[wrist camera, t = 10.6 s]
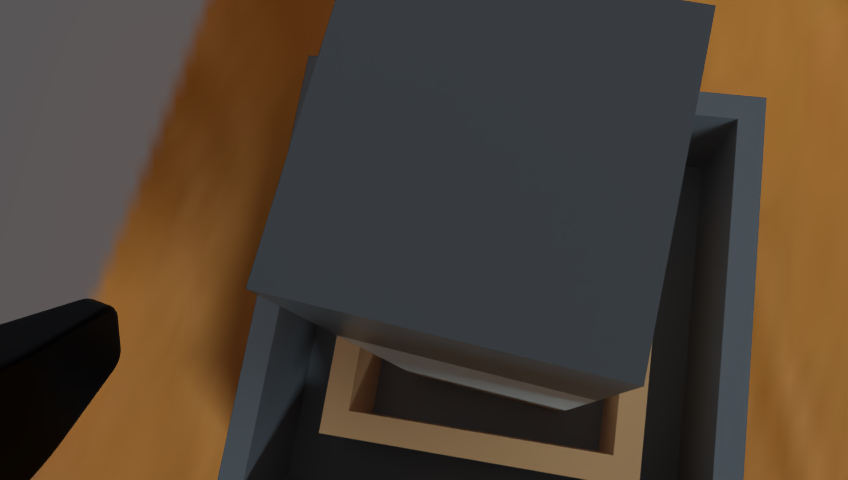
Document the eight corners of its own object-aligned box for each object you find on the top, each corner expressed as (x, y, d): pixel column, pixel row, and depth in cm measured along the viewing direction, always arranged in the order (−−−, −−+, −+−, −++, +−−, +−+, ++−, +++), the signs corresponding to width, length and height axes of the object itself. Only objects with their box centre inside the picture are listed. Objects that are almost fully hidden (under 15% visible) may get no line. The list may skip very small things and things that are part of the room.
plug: (560, 412, 19) (643, 386, 7) (414, 374, 20) (245, 288, 7) (590, 267, 20) (716, 5, 8) (449, 235, 21) (351, -51, 8)
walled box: (689, 573, 19) (735, 612, 15) (269, 493, 20) (211, 509, 16) (720, 157, 21) (766, 97, 17) (343, 117, 23) (308, 55, 19)
